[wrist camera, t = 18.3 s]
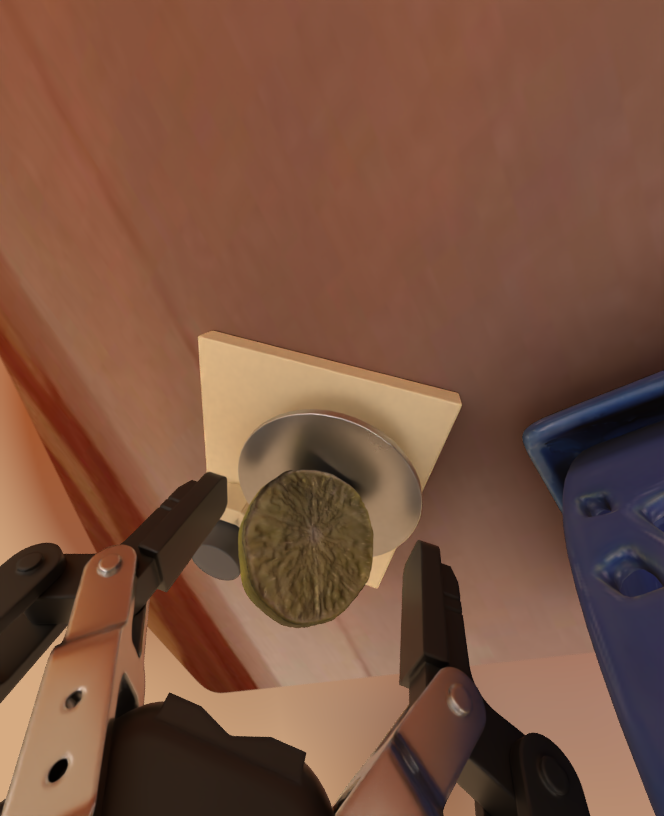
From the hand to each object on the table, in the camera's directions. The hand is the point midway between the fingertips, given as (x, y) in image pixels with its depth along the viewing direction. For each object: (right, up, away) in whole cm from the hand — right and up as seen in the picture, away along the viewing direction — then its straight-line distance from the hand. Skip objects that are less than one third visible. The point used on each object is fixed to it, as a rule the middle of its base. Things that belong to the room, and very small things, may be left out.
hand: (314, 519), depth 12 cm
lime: (0, +1, +1) cm, 2 cm away
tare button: (-5, -3, +6) cm, 8 cm away
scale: (-1, +1, +5) cm, 5 cm away
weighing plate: (0, +1, +1) cm, 2 cm away
